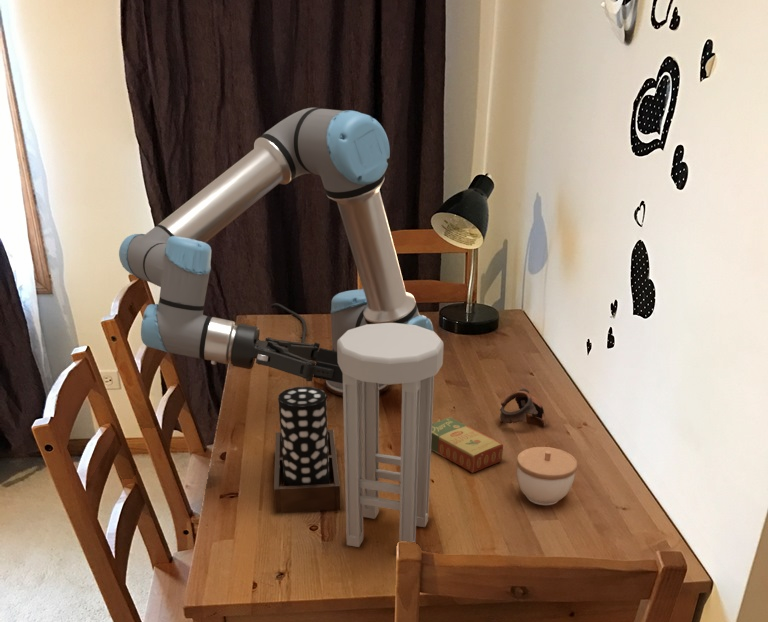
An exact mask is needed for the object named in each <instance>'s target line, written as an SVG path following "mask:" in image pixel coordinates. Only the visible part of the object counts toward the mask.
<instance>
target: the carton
mask: <svg viewBox="0 0 768 622" xmlns="http://www.w3.org/2000/svg"><path fill="white" fill-rule="evenodd" d="M431 451H433V452H434V453H436V454H438V455H440V456H442V457H443V458H445V459H448V460H449V461H451V462H453V463H454V464H455V465H458V466H460V467H462V468H463V469H465V470H467V471H469V472H471V473H472V474H473V473H475V472H478V471H481V470H483V469H486V468H488V467H490V466H494V465H495V464H498V463H500V462H502V459H503V453H504V452H503V451H504V444H503V442H500V441H499V440H497V439H494V438H492V437H490V436H488V435H486V434H484V433H482V432H480V431H478V430H477V429H475V428H472V427H470V426H469V425H466V424H464V423H462V422H461V421H458V420H457V419H454V418H452V416H449V417H446V418H443V419H441V420H438V421H436V422H432V439H431Z"/></svg>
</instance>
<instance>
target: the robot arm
mask: <svg viewBox="0 0 768 622" xmlns="http://www.w3.org/2000/svg"><path fill="white" fill-rule="evenodd" d="M390 147H391V146H390V141H389V139H388V135H387V133H386V131H385V129H384V127H383V126H382V124H381V123H380V122H379V121H378V120H377V119H376V118H374V117H373V116H371V115H369V114H366V113H362V112H359V111H356V110H350V109H349V110H348V109H347V110H340V109H329V108H322V107H308V108H303V109H301V110H298V111H296V112H294V113H292V114H290V115H288V116H287V117H285V118H283V119H281V121H279V122H278V123H276V124H275V125H274V126H272V127H271V128H269V129H268V130H266V131H265V132H264V133H262V135H261V136H258V138H256V139H255V141H254V143H253V149H252V150H250V151H249V152H248V153H246V155H244V156H243V157H242V158H240V159H239V160H238V161H237V162H235V163H234V164H233V165H231V166H230V167H229V168H227V170H225V171H224V172H223V173H221V174H220V175H219V176H218V177H216V178H215V179H214V180H212V181H211V182H210V183H209V184H207V185H206V186H205V187H204V188H202V189H201V190H200V191H199V192H197V193H196V194H195V195H193V196H192V197H191V198H190V199H189V200H187V201H186V202H185V203H183V204H182V205H181V206H180V207H178V208H177V209H176V210H175V211H173V212H172V213H171V214H169V215H168V216H167V217H165V218H164V219H163V220H162V221H161V222H160V223H158V224H157V225H156V226H155V227H153V228H151V229H150V230H149V231H148V232H146V233H134V234H130V235H128V236H127V237H125V238H124V239H123V241H122V242H121V244H120V247H119V250H118V257H119V261H120V263H121V265H122V268H123V269H124V270H125V271H126V272H128V273H129V274H131V275H132V276H134V277H135V278H137V279H139V280H142V281H146V282H148V283H151V284H153V285H155V286H157V287H159V288H160V290H159V299H158V302H157V303H156V304H155V303H154V304H153V303H151V304H148V305H147V306H146V307H145V309H144V311H143V316H142V320H141V324H140V325H141V326H140V338H141V341H142V343H143V345H144V346H146V347H147V348H151V349H154V350H159V351H163V352H166V353H167V354H174V355H180V356H185V357H191V358H194V359H195V358H196V359H200V360H205V361H210V364H211V365H212V366H216V365H217V363H219V364H224V365H228V364H229V363H230V364H231V365H232V366H233V367H237V368H242V369H246V370H251V369H252V368H253V367H254V365H255V364H256V365H259V366H264V367H269V368H271V369H274V370H278V371H281V372H284V373H288V374H290V375H293V376H297V377H299V378H303V379H305V381H306V382H313V378H314V379H315V378H316V379H318V380H319V379H320V380H324V381H325V387H326V389H327V390H328V391H329V392H330V393H332V394H333V395H336V396H339V397H343V373H342V371H341V369H340V367H339V365H338V359H337V341H338V340H339V339H340V338H341V337H342V336H343V335H344V334H345V333H346V332H347V331H348V330H350V329H354V328H357V327H360V326H364V325H367V324H380V323H400V324H409V325H417V326H419V327H422V328H425V329H428V330H431V331H434V326H433V325H434V324H433V323H432V321H431V319H430V318H428V317H427V316H426V315H424V314H420V313H419V309H418V305H417V301H416V299H415V298H416V297H414V295H413V294H412V293H410V292H407V291H406V287H405V282H404V280H403V275H402V271H401V267H400V264H399V260H398V256H397V252H396V248H395V245H394V244H395V243H394V240H393V236H392V233H391V229H390V225H389V221H388V217H387V213H386V209H385V206H384V202H383V198H382V194H381V190H380V189H381V187H382V185H383V184H384V181H385V173H386V171H387V168H388V166H389V163H388V159H390V157H391V156H390V154H391V151H390V150H391V149H390ZM310 174H312V175H317V176H320V179H321V182H322V185H323V188H324V192H325V194H326V196H327V198H328V199H329V200H332V201H334V202H336V204H337V207H338V210H339V213H340V217H341V221H342V224H343V227H344V230H345V234H346V237H347V240H348V244H349V247H350V250H351V253H352V257H353V260H354V264H355V266H356V270H357V273H358V274H357V275H358V277H359V280H360V283H361V287H362V288H361V289H352V290H346V291H342V292H338V293H336V294H335V295H334V296H333V297H332V299H331V301H330V302H331V304H330V305H331V306H330V308H331V309H330V311H329V313H330V319H331V320H330V323H331V325H330V326H331V346H332V349H327V348H323V347H320V345H321V343H319V342H314V343H307V342H306V334H307V324H306V321H305V319H304V318H303V317H302V316H301V315H300V314H299V313H298V312H297V313H296V312H295V311H293V310H291V309H289V308H287V307H286V306H284V305H283V304H280V303H277V302H275V303H272V304H271V305H270V309H274V308H275V307H279V308H281V309H282V310H284V311H286V312H287V313H289V314H290V315H293V316H294V317H296V318H297V319H299V320H300V322H301V323H302V334H301V342H297V341H291V340H283V339H276V338H271V337H265V338H264V339H265V340H260V333H261V332H260V328H259V327H258V326H255V325H250V324H247V323H246V324H245V323H238V324H237V323H236V322H235V321H233V320H229V319H224V318H220V317H215V316H208V315H205V314H204V311H205V310H204V309H205V303H206V302H205V301H206V296H207V290H208V284H209V279H210V274H211V271H212V265H211V262H212V247H211V245H210V244H208V241H209V240H211V239H213V237H215V236H216V235H217V234H218V233H220V232H221V231H222V230H223V229H224V228H226V227H227V226H228V225H230V223H231V224H232V222H233V221H234V220H236V219H237V218H238V217H239V216H241V215H242V214H243V213H244V212H246V211H247V210H248V209H249V208H250V207H252V206H253V205H254V204H255V203H257V202H258V201H259V200H261V199H262V198H263V197H264V196H265V195H266V194H268V193H269V192H270V191H272V190H273V189H274V188H275V187H277V186H278V185H287V184H289V183H290V182H292V181H293V180H294V179H295V178H297V177H300V176H302V175H303V176H304V175H310ZM389 385H390V384H380V383H379V395H380V394H382V393H384V392H386V391H387V390H388V389H389Z"/></svg>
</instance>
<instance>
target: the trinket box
mask: <svg viewBox="0 0 768 622" xmlns="http://www.w3.org/2000/svg"><path fill="white" fill-rule="evenodd" d="M516 465H517V466H516V480H517V484H518V487H519V489H520V490H521V492H522V494H523V495H524V496H525V497H526V499H527V500H528V502H529V501H530V503H533V504H535V505H538V506H539V505H540V506H552V505H555V504H557V503H558V502H559V501H561V500H563V498H565V497H566V496H567V495H568V493H569V492H570V491H571V489H572V487H573V484H574V481H575V477H576V472H577V468H578V461H577V459H576V458H575V457H574V456H573V455H572V454H571V453H569V452H568V451H565V450H563V449H560V448H555V447H549V446H533V447H530V448H526V449H524V450H522V451H521V452H520V453H518V455H517V458H516Z"/></svg>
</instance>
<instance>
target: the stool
mask: <svg viewBox="0 0 768 622" xmlns="http://www.w3.org/2000/svg"><path fill="white" fill-rule="evenodd" d="M444 347H445V345H444V341H443V340H442V338H440V336H439V335H438V334H437V333H436V332H435V330H433V331H431V330H428V329H425V328H422V327H419V326H417V325H409V324H400V323H380V324H367V325H364V326H360V327H357V328H354V329H350V330H348V331H347V332H346V333H345V334H344V335H343V336H342V337H341V338H340V339H339V340H338V341H337V359H338V365H339V367H340V369H341V371H342V373H343V396H342V403H343V404H342V405H343V407H342V409H343V410H342V411H343V442H344V443H343V447H344V448H343V449H344V452H343V453H344V487H345V493H344V494H345V530H346V533H345V534H346V535H345V537H346V546H351V547H355V548H360V547H361V544H362V543H363V541H364V518H368V519H373V520H376V518H377V516H378V514H379V513H380V509H379V508H383V509H390V510H393V511H399V533H398V535H399V536H398V543H399V542H400V541H407V542H415V543H417V542H416V540H417V539H416V537H417V527H421V528H426V526H427V524H428V522H429V510H430V509H429V508H430V507H429V506H430V487H431V485H430V484H431V462H432V461H431V460H432V450H431V439H432V424H433V415H434V412H433V411H434V387H435V385H434V384H435V376H437V375H438V373H439V372H440V369H441V368H442V366H443V365H444ZM379 383H380V384H389V385H400V384H401V422H400V423H401V425H400V428H401V431H400V456H397V455H391V454H390V455H389V454H382V453H380V394H379ZM380 464H385V465H393V466H398V467H400V471H399V472H398V471H391V470H386V469H380ZM380 479H383V480H387V481H394V482H400V483H399V484H397V483H393V482H392V483H390V482H385V481H380ZM380 492H384V493H391V494H396V495H399V500H396V499H389V498H382V497H380Z"/></svg>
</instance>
